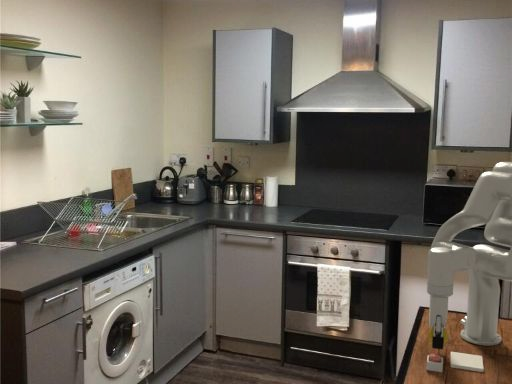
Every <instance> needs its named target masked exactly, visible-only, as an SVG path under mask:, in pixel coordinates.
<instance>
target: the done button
mask: <svg viewBox="0 0 512 384" xmlns="http://www.w3.org/2000/svg"><path fill="white" fill-rule="evenodd" d="M440 357H441V355H440V354H438V353H430V361H431V362H437V363H439V362H440Z"/></svg>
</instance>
